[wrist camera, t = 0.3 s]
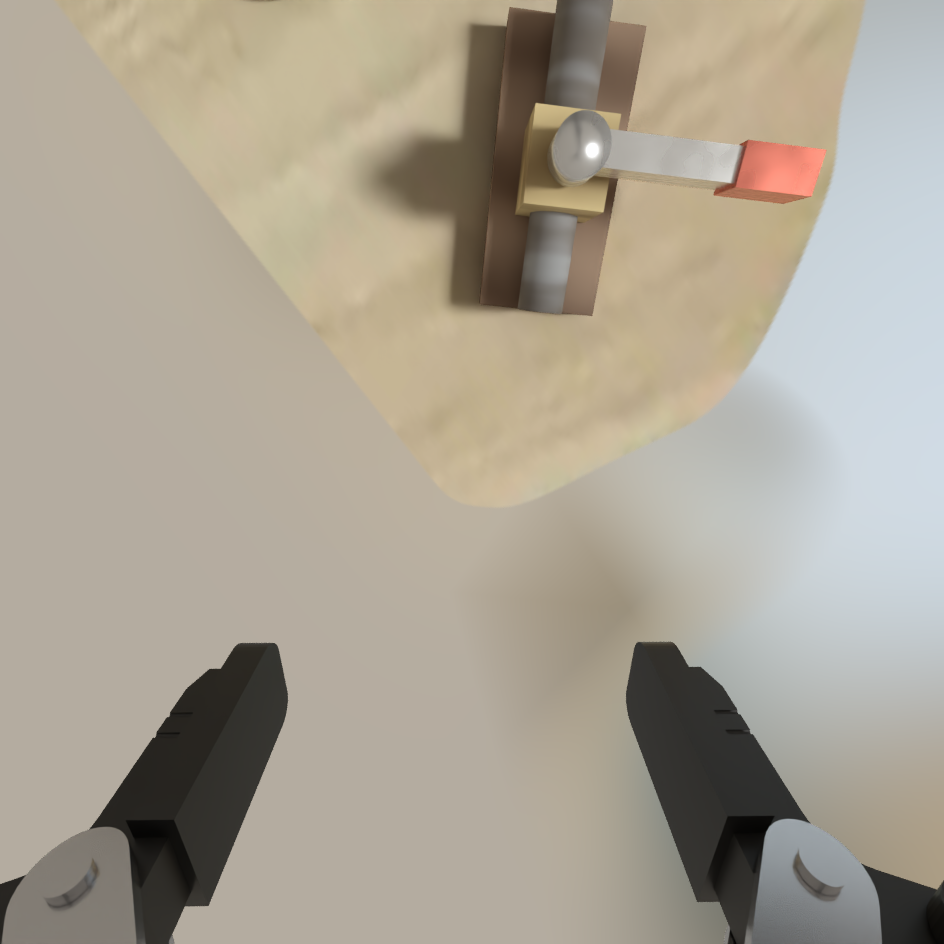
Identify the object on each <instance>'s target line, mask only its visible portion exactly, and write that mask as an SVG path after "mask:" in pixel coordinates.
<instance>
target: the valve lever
mask: <svg viewBox="0 0 944 944" xmlns="http://www.w3.org/2000/svg"><path fill="white" fill-rule="evenodd" d="M825 153H826V150H824V149H816V148H808V147H800V146H792V145H784V144H776V143H768V142H761V141H753V140H747V141H745V142H744V143H742V144H740V145H733V144H725V143H717V142H709V141H701V140H693V139H685V138H677V137H669V136H662V135H654V134H646V133H638V132H630V131H622V130H614V129H610V128H609V126H608V124H607V122H606V121H605V119H604V118H603V117H602V116H601V115H600V114H598V113H596V112H594V111H590V110H581V111H577V112H575V113H573V114H571V115H570V116H569V117H567V118H566V119H565V120H564V122H563V123H562V124H561V126H560V128H559V129H558V131H557V133H556V134H555V136H554V138H553V139H552V141H551V143H550V146H549V149H548V154H547V163H548V168H549V171H550V173H551V175H552V177H553V178H554V179H555V180H556V182H558V183H559V184H561V185H563V186H566V187H577V186H580V185H582V184H584V183H585V182H587V181H588V180H589V179H590V178H591V177H593V176H601V177H609V178H617V179H626V180H634V181H642V182H650V183H659V184H667V185H675V186H684V187H692V188H700V189H708V190H715V192H714V195H715V196H723V197H731V198H740V199H748V200H756V201H765V202H773V203H781V204H784V203H788V202H792V201H796V200H800V199H804V198H807V197H811V196H812V193H813V190H814V187H815V184H816V181H817V178H818V175H819V172H820V169H821V166H822V163H823V159H824V156H825Z"/></svg>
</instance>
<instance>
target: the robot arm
mask: <svg viewBox="0 0 944 944" xmlns="http://www.w3.org/2000/svg"><path fill="white" fill-rule="evenodd" d="M287 703H288V693H287V687H286V683H285V678H284V673H283V668H282V663H281V659H280V654H279V649H278V646H277V645H276V644H275V643H240V644H238V645H236V646H235V648H234V649H233V651H232V652H231V654H230V655H229V657H228V658H227V660H226V661H225V663H224V665H223V666H222V668H221V669H209V670H208V671H207V672H206V673H204V674H203V675H202V676H201V677H200V678H199V679H197V680H196V681H195V682H194V683H193V684H192V685H190V686H189V687H188V688H187V689H186V690H185V692H184V693H183V695H182V696H181V697H180V699H179V700H178V702H177V703H176V705H175V706H174V708H173V709H172V711H171V712H170V717H167V718H166V719H165V721H164V723H163V724H162V726H161V727H160V728H159V730H158V731H157V735H156V737H155V738H152V740H151V741H150V743H149V745H148V746H147V747H146V749H145V750H144V752H143V753H142V755H141V756H140V758H139V759H138V760H137V762H136V763H135V765H134V766H133V768H132V769H131V771H130V772H129V774H128V775H127V777H126V778H125V779H124V781H123V783H122V784H121V785H120V787H119V788H118V790H117V791H116V793H115V794H114V796H113V797H112V799H111V800H110V801H109V803H108V804H107V806H106V807H105V809H104V810H103V812H102V813H101V815H100V816H99V817H98V819H97V820H96V821H95V823H94V824H93V825H92V827H91V828H90V829H89V830H87V831H84V832H81V833H79V834H77V835H75V836H73V837H71V838H69V839H68V840H66V841H64V842H63V843H61V844H60V845H58V846H57V847H55V848H54V849H53V850H51V851H50V852H49V853H48V854H47V855H46V856H44V857H43V858H42V859H41V860H40V861H39V862H38V863H37V864H36V865H35V866H34V867H33V868H32V869H31V870H30V871H29V873H28V874H27V875H25V876H22V877H20V878H17V879H14V880H11V881H8V882H5V883H2V884H0V944H174V939H173V935H172V933H173V931H174V929H175V927H176V925H177V922H178V920H179V918H180V916H181V913H182V911H183V909H184V907H185V906H209V903H210V901H211V898H212V896H213V893H214V891H215V889H216V886H217V884H218V881H219V879H220V876H221V874H222V871H223V869H224V867H225V864H226V862H227V859H228V857H229V855H230V852H231V850H232V847H233V845H234V842H235V840H236V837H237V835H238V833H239V830H240V828H241V825H242V823H243V820H244V818H245V815H246V813H247V810H248V808H249V806H250V803H251V801H252V798H253V796H254V794H255V791H256V789H257V786H258V784H259V781H260V779H261V777H262V774H263V772H264V769H265V767H266V764H267V762H268V760H269V757H270V755H271V752H272V750H273V747H274V745H275V743H276V740H277V738H278V735H279V733H280V730H281V728H282V726H283V723H284V720H285V716H286V711H287ZM626 704H627V711H628V716H629V719H630V723H631V725H632V728H633V731H634V734H635V736H636V739H637V742H638V744H639V747H640V750H641V752H642V755H643V758H644V760H645V763H646V766H647V768H648V771H649V774H650V776H651V779H652V782H653V784H654V787H655V790H656V793H657V795H658V798H659V801H660V803H661V806H662V809H663V811H664V814H665V816H666V819H667V822H668V824H669V827H670V830H671V833H672V835H673V838H674V841H675V843H676V846H677V849H678V851H679V854H680V857H681V860H682V862H683V865H684V867H685V870H686V873H687V875H688V878H689V881H690V884H691V886H692V889H693V892H694V894H695V897H696V900H697V902H720V905H721V907H722V909H723V912H724V914H725V917H726V919H727V922H728V926H727V929H726V932H725V938H724V944H944V881H943V882H942V884H941V885H940V887H939V888H938V889H937V890H936V889H933V888H930V887H927V886H924V885H921V884H918V883H915V882H912V881H909V880H906V879H903V878H900V877H896V876H894V875H890V874H887V873H884V872H881V871H878V870H875V869H873V868H870V867H867V866H865V865H863V864H861V863H860V862H859V861H858V860H857V858H856V857H855V856H854V855H853V854H852V853H851V852H850V851H849V849H847V848H846V847H845V846H844V845H843V844H842V843H841V842H840V841H838V840H837V839H836V838H834V837H833V836H832V835H830V834H829V833H827V832H826V831H824V830H822V829H821V828H819V827H817V826H815V825H812V824H811V823H810V822H809V821H808V820H807V818H806V817H805V815H804V814H803V813H802V811H801V810H800V808H799V806H798V805H797V803H796V802H795V800H794V798H793V797H792V795H791V794H790V792H789V791H788V789H787V787H786V786H785V785H784V783H783V781H782V779H781V778H780V776H779V775H778V773H777V772H776V770H775V768H774V767H773V765H772V764H771V762H770V761H769V759H768V757H767V756H766V754H765V753H764V751H763V750H762V748H761V746H760V745H759V743H758V742H757V740H756V738H755V737H754V735H753V734H750V729H749V728H748V726H747V724H746V723H745V721H744V720H743V718H742V716H741V715H739V714H738V713H737V708H736V707H735V705H734V704H733V702H732V701H731V699H730V697H729V696H728V694H727V693H726V691H725V690H724V688H723V687H722V686H721V685H720V684H719V683H718V682H717V681H716V680H714V678H712V677H711V676H710V675H709V674H708V673H707V672H706V671H705V670H704V669H702V668H701V667H688V665H687V663H686V661H685V659H684V658H683V656H682V655H681V653H680V651H679V649H678V648H677V646H676V645H675V644H674V643H673V642H638V643H636V645H635V648H634V653H633V658H632V664H631V669H630V675H629V680H628V686H627V691H626Z"/></svg>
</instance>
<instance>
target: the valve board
mask: <svg viewBox="0 0 944 944" xmlns="http://www.w3.org/2000/svg"><path fill="white" fill-rule="evenodd" d="M612 5H613V0H557V6H556V13H549V12H541V11H534V10H527V9H520V8H513V7H510V8H509V14H508V21H507V28H506V38H505V48H504V58H503V68H502V78H501V89H500V99H499V109H498V119H497V129H496V139H495V150H494V160H493V170H492V180H491V190H490V200H489V211H488V221H487V231H486V241H485V251H484V261H483V272H482V282H481V292H480V302H479V303H480V304H483V305H492V306H502V307H511V308H518V309H521V310H528V311H536V312H545V313H556V314H562V313H569V314H578V315H588V316H592V314H593V309H594V303H595V298H596V293H597V287H598V282H599V277H600V271H601V266H602V261H603V255H604V250H605V245H606V239H607V234H608V229H609V223H610V218H611V213H612V207H613V202H614V197H615V191H616V186H617V181H618V179H617V178H609V177H601V176H593V177H591V178H590V179H589V180H588V181H587V182H585V183H584V184H582V185H580V186H577V187H566V186H563V185H561V184H559V183H558V182H556V180H555V179H554V178H553V177H552V175H551V173H550V171H549V168H548V163H547V154H548V149H549V146H550V143H551V141H552V139H553V138H554V136H555V134H556V133H557V131H558V129H559V128H560V126H561V124H562V123H563V122H564V120H565V119H566V118H567V117H569V116H570V115H571V114H573V113H575V112H577V111H581V110H590V111H594V112H596V113H598V114H600V115H601V116H602V117H603V118H604V119H605V121H606V122H607V124H608V126H609V128H610V129H614V130H622V131H627V127H628V122H629V116H630V111H631V106H632V100H633V95H634V90H635V84H636V79H637V74H638V68H639V63H640V58H641V52H642V47H643V42H644V36H645V31H646V26H643V25H635V24H628V23H621V22H614V21H610V17H611V11H612Z"/></svg>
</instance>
